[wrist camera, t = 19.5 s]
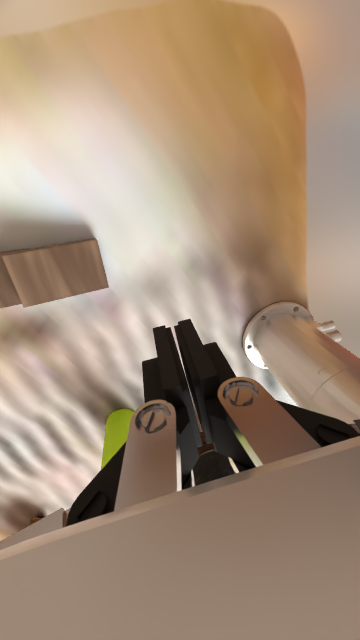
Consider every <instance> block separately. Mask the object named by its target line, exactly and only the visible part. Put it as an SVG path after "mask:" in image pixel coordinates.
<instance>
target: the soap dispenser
mask: <svg viewBox="0 0 360 640" xmlns="http://www.w3.org/2000/svg"><path fill="white" fill-rule="evenodd" d="M134 412H135V411H133V410H130V409H119V410H116V411H114V412H112V413H111V414H110V415H109V416H108V418H107V421H106V430H105V439H104V448H103V457H102V466H101V470H102V468H103V467H104V466H105V465H106V464H107V463H108V462H109V460H110V459H111V458H112V457H113V456H114V455H115V454H116V452H117V451H118V450H119V449H120V448H121V447H122V446H123V444H124V443H125V442H126V441H127V436H128V431H129V425H130V420H131V418H132V415H133V414H134Z"/></svg>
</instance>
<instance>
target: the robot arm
mask: <svg viewBox="0 0 360 640" xmlns="http://www.w3.org/2000/svg"><path fill="white" fill-rule="evenodd" d="M174 328H175V332H176V336H177V341H178V345H179V349H180V353H181V357H182V361H183V366H184V370H185V373H184V370H183V367H182V364H181V360H180V357H179V354H178V350H177V347H176V344H175V341H174V337H173V334H172V331H171V328H170V327H169V328H165V325H164V326H160V327H156V328H153V333H154V339H155V345H156V351H157V356H158V357H157V358H153V359H150V360H146V361H143V362H142V369H143V384H144V399H145V404H143V405H141V406H140V407H139V408H138V409H137V410H136V411H135V412H134V414H133V415H132V418H131V420H130V425H129V431H128V436H127V441H126V442H125V443H124V444H123V446H122V447H121V448H120V449H119V450H118V451H117V452H116V454H115V455H114V456H113V457H112V458H111V459H110V460H109V462H108V463H107V464H106V465H105V466H104V467H103V468H102V470H101V471H100V472H99V473H98V474H97V475H96V477H95V478H94V479H93V480H92V481H91V482H90V483H89V485H88V486H87V487H86V488H85V489H84V490H83V491H82V493H81V494H80V495H79V496H78V497H77V499H76V500H75V502H74V503H73V504H72V507H71V508H69V509H68V510H66V511H65V510H64V509H63V508H61V509H59V510H57V511H55V512H54V513H52V514H50V515H48V516H46V517H44V518H43V519H41V520H39V521H37V522H35V523H33V524H31V525H30V526H28V527H26V528H24V529H22V530H20V531H19V532H17V533H15V534H13V535H11V536H9V537H7V538H6V539H4V540H2V541H0V640H360V358H358V357H357V356H356V355H354V354H353V353H351V352H350V351H348V350H347V349H346V348H344V347H343V346H341V345H340V344H338V343H337V342H339V341H341V340H342V335H341V333H340V332H339V331H338V330H335V331H331V332H327V333H325V334H324V333H323V331H325V330H326V331H327V330H330V329H334V328H335V323H334V322H333V321H328V322H324V323H321V324H319V323H317V322H315V321H314V320H313V317H312V315H311V314H310V312H309V311H308V310H307V309H306V308H305V307H303V306H301V305H300V304H297V303H294V302H279V303H275V304H272V305H270V306H268V307H266V308H264V309H263V310H261V311H260V312H259V313H257V314H256V315H255V316H254V317H253V319H252V320H251V321H250V322H249V324H248V326H247V327H246V330H245V332H244V335H243V349H244V353H245V354H246V356H247V358H248V359H249V360H250V361H251V362H252V363H253V364H254V365H256V366H258V367H260V368H264V369H269V371H270V372H271V373H272V374H273V376H274V377H275V378H276V379H277V381H278V382H279V383H280V384H281V386H282V387H283V388H284V389H285V391H286V392H287V393H288V394H289V396H290V397H291V398H292V399H293V401H294V402H295V403H296V404H297V405H298V407H297V406H294V405H290V404H287V403H284V402H280V401H277V400H275V399H274V398H273V397H272V396H271V395H270V394H269V393H268V392H267V391H266V390H265V389H264V387H263V386H262V385H261V384H259V383H258V382H257V381H255V380H253V379H251V378H246V377H236V375H235V374H234V372H233V370H232V369H231V367H230V365H229V364H228V362H227V360H226V358H225V357H224V355H223V353H222V352H221V350H220V348H219V347H218V345H217V343H216V342H213V343H209V344H205V345H203V344H202V342H201V340H200V338H199V336H198V334H197V332H196V330H195V328H194V326H193V324H192V322H191V320H190V319H187V320H183V321H179V322H178V325H177V326H174ZM185 374H186V377H185ZM186 378H187V380H186ZM187 381H188V384H187ZM188 385H189V387H188ZM189 388H190V391H191V394H192V397H193V401H194V404H195V407H196V410H197V414H198V417H199V420H200V423H201V427H202V430H203V433H204V436H205V439H206V443H207V444H210V443H213V446H214V449H215V452H219V453H221V454H223V455H225V456H227V457H228V458H229V461H230V464H231V466H232V468H233V469H234V471H235V473H236V474H233V475H229V476H226V477H223V478H220V479H216V480H213V481H210V482H207V483H203V484H200V485H197V486H195V485H194V474H193V470H192V469H193V467H194V466H195V464H196V462H197V461H198V459H199V453H198V450H197V447H200V446H203V445H202V441H201V437H200V433H199V429H198V425H197V420H196V416H195V412H194V408H193V404H192V400H191V395H190V391H189Z"/></svg>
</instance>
